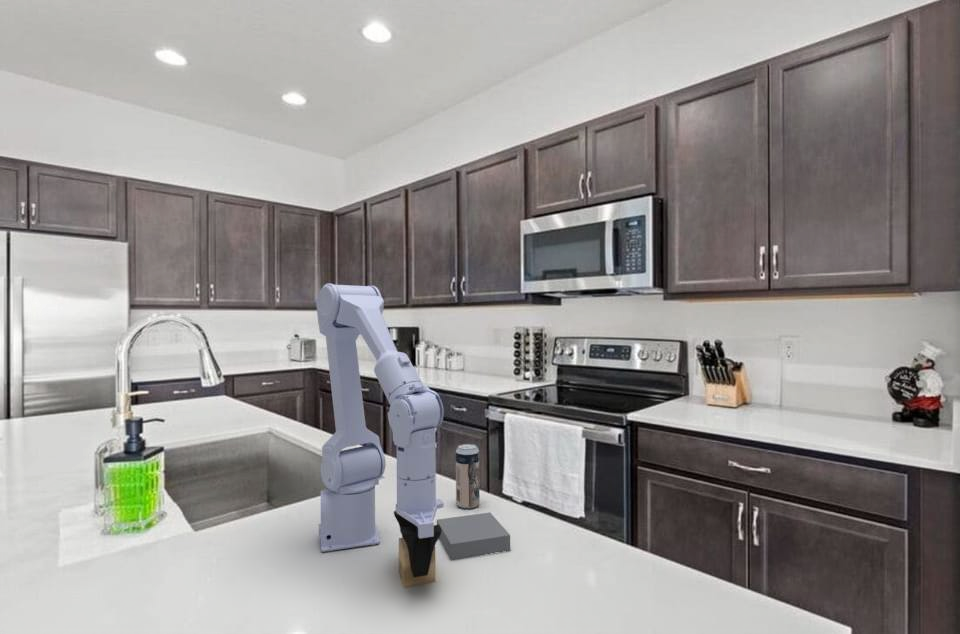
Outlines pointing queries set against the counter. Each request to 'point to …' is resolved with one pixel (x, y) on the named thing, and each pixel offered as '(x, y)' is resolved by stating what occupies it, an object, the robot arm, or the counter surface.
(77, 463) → the counter surface
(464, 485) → the beer can
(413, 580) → the oak block
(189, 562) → the counter surface
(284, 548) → the counter surface
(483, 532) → the charcoal base
